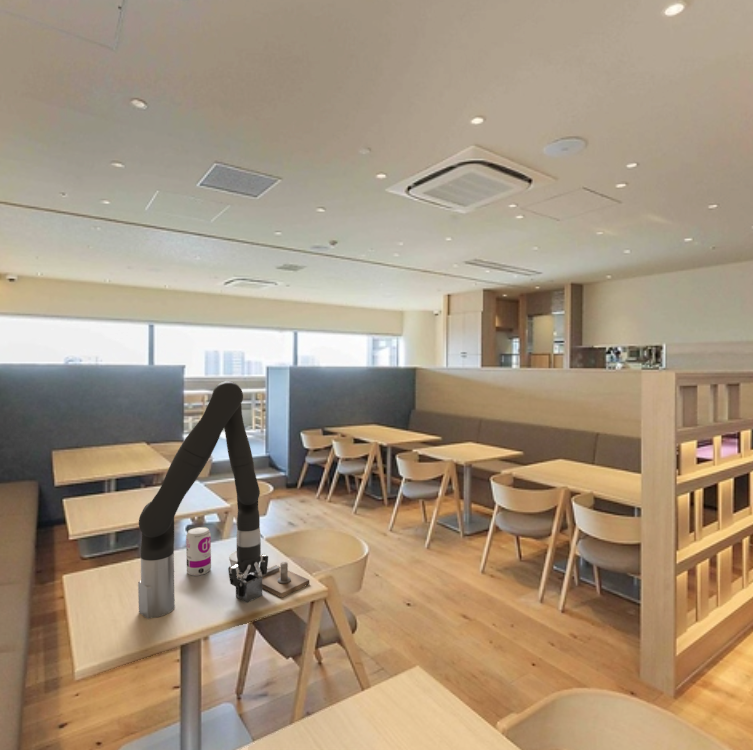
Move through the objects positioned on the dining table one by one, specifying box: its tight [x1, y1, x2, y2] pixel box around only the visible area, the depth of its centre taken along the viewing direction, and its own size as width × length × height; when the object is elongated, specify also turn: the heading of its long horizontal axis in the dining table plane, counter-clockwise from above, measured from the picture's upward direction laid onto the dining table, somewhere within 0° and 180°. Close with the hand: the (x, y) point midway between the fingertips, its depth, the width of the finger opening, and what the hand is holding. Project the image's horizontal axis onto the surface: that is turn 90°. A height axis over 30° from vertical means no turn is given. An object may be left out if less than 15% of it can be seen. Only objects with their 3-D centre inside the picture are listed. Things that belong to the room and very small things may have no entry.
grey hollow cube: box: [235, 572, 263, 603], centre depth 155 cm, size 6×6×6 cm
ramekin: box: [228, 550, 262, 575], centre depth 175 cm, size 11×11×5 cm
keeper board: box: [262, 561, 310, 599], centre depth 164 cm, size 12×18×8 cm, turn 50°
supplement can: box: [185, 526, 212, 577], centre depth 172 cm, size 8×8×15 cm
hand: (249, 592), depth 155 cm, fingers closed on grey hollow cube, 6 cm apart
